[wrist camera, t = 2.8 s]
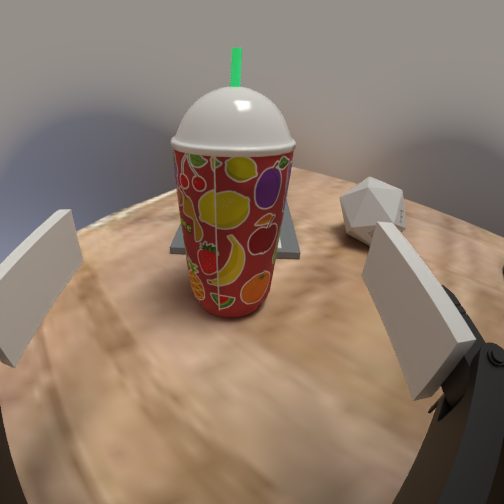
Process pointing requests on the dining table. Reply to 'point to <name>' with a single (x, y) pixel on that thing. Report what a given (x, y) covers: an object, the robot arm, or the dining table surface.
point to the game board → (285, 246)
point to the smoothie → (232, 193)
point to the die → (372, 208)
